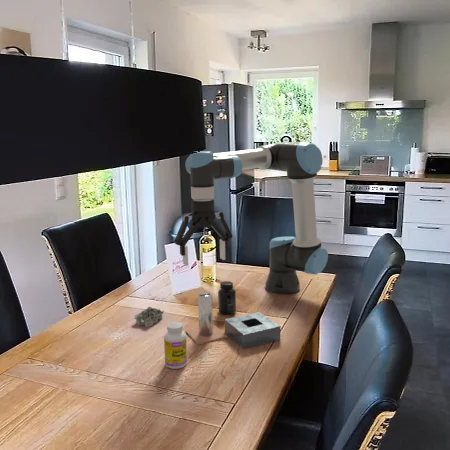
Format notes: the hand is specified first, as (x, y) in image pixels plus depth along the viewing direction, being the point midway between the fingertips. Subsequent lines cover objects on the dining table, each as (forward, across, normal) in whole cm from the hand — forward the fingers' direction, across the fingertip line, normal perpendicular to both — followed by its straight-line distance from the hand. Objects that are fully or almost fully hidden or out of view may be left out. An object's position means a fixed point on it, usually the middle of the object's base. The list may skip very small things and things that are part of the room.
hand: (204, 261), depth 158 cm
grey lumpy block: (+27, +14, -21) cm, 37 cm away
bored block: (+26, -13, +8) cm, 31 cm away
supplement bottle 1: (+26, +17, +14) cm, 35 cm away
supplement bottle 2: (+27, -15, -14) cm, 34 cm away
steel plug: (+26, 0, 0) cm, 26 cm away
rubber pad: (+26, 0, 0) cm, 26 cm away
